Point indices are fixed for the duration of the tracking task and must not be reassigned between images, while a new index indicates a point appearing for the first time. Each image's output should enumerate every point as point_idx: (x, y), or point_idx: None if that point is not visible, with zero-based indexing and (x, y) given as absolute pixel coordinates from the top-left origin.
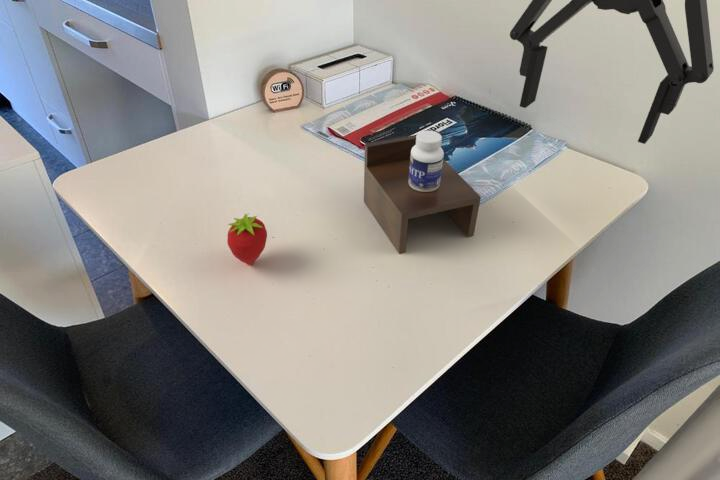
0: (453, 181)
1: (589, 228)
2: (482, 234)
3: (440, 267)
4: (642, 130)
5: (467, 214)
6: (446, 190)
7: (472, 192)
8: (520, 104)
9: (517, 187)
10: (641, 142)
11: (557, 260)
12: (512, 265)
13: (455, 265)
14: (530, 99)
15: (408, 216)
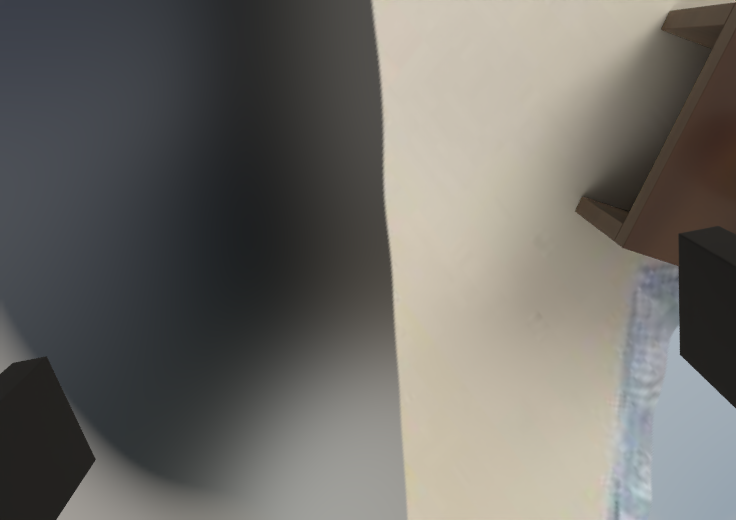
0: None
1: (414, 414)
2: (562, 230)
3: (562, 60)
4: (6, 395)
5: (620, 216)
6: (714, 197)
7: (651, 245)
8: (722, 231)
9: (604, 420)
10: (27, 360)
11: (397, 285)
12: (451, 199)
13: (541, 95)
14: (699, 299)
15: (730, 23)
